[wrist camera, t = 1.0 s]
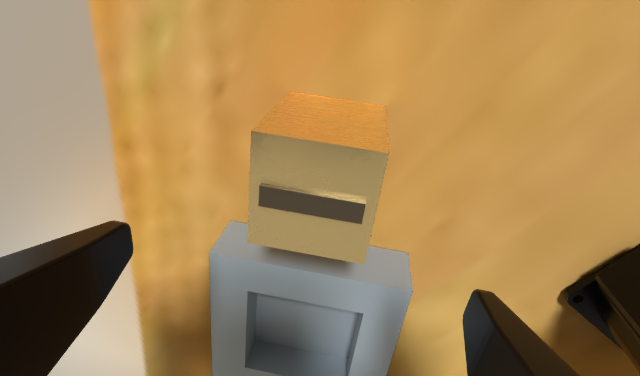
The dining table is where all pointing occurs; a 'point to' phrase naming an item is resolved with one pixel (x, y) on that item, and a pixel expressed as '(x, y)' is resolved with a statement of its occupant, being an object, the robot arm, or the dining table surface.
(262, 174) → the block
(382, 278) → the grey slotted plate
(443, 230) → the dining table surface
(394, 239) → the dining table surface
